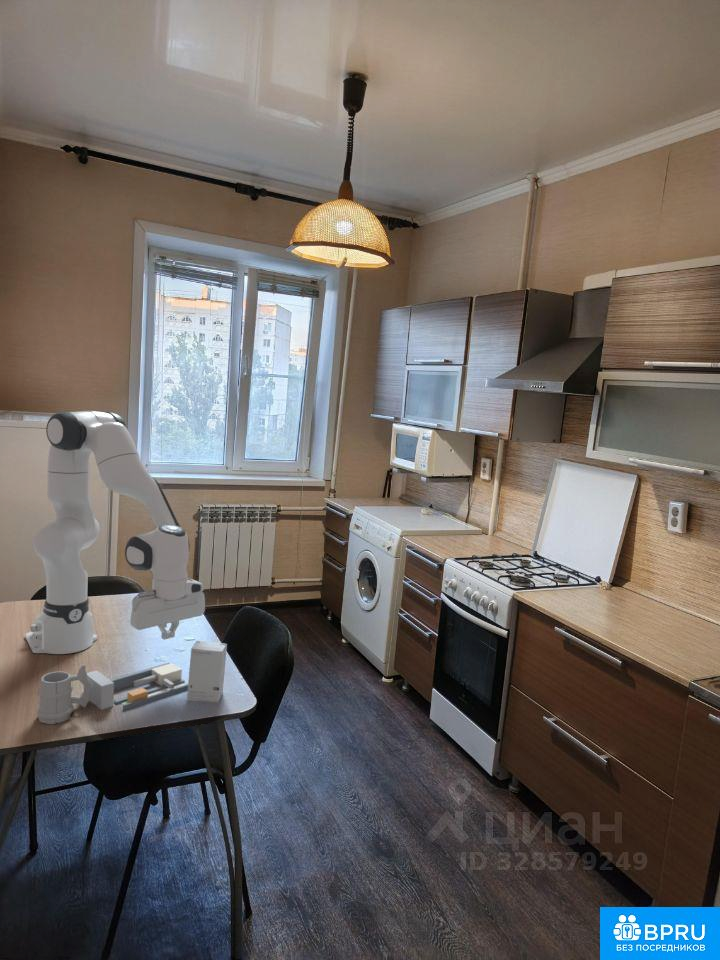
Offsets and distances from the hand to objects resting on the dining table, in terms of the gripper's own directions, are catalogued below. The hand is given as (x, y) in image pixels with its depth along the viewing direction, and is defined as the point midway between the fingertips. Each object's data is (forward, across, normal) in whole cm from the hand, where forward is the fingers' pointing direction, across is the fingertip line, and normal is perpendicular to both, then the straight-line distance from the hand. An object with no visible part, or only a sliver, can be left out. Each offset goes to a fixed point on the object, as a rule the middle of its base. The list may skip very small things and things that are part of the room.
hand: (168, 637), depth 167 cm
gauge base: (+13, -7, 0) cm, 15 cm away
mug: (+13, -26, +1) cm, 29 cm away
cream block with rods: (+12, -3, -2) cm, 12 cm away
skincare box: (+13, +3, -14) cm, 20 cm away
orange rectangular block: (+12, -11, -6) cm, 17 cm away
